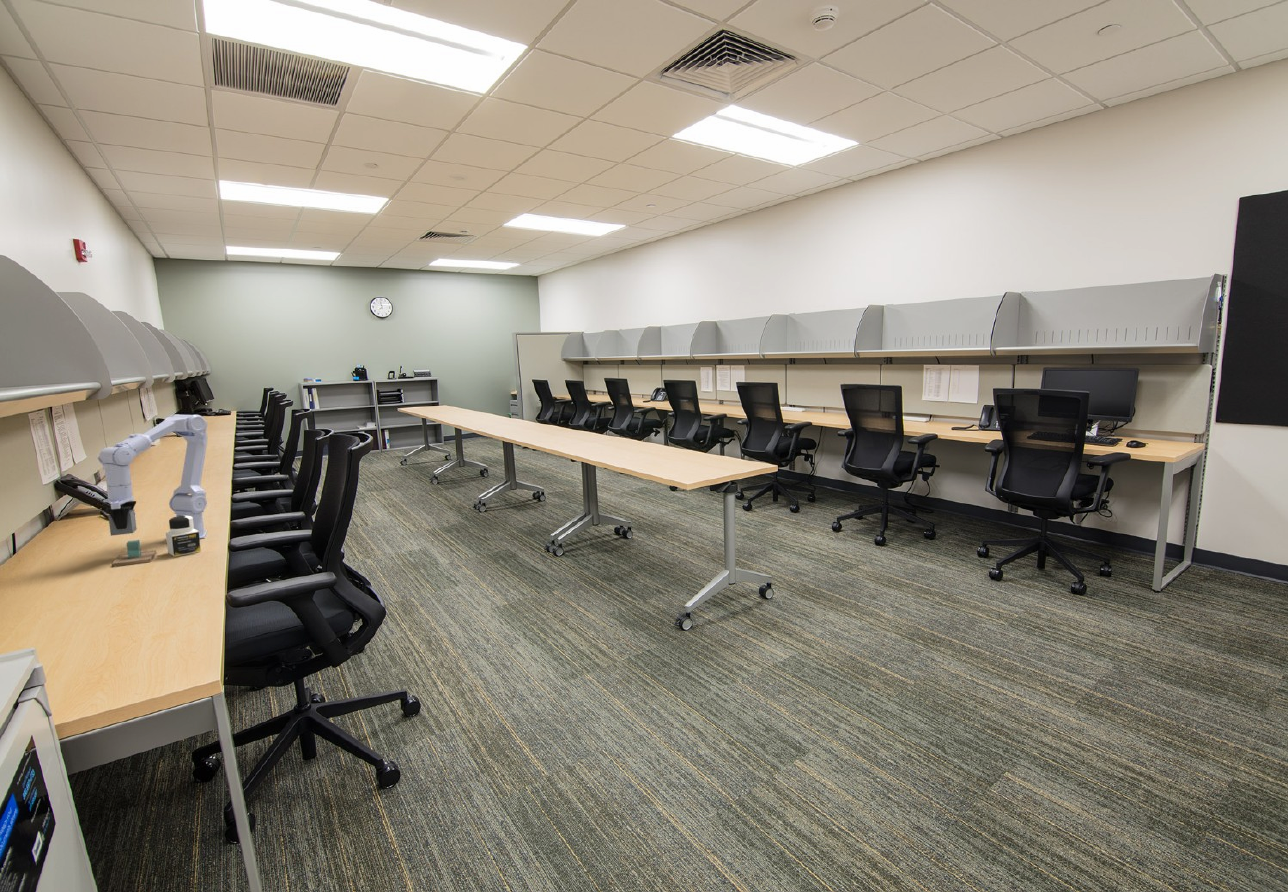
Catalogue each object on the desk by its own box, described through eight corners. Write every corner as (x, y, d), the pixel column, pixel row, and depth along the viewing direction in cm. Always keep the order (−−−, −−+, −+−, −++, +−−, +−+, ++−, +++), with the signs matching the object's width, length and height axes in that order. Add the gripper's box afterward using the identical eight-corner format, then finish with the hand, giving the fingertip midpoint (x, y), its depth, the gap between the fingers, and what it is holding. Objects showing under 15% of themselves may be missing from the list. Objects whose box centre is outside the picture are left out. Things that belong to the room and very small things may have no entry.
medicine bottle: (173, 557, 180) (170, 520, 179) (167, 552, 184) (163, 517, 183) (201, 551, 186) (197, 516, 184) (194, 547, 190) (190, 513, 189)
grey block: (115, 531, 180) (112, 511, 179) (136, 529, 183) (134, 509, 182) (110, 535, 176) (108, 515, 175) (132, 533, 178) (130, 512, 177)
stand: (119, 557, 179) (117, 539, 178) (156, 553, 184) (154, 535, 183) (112, 567, 171) (109, 548, 170) (150, 561, 176) (148, 543, 175)
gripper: (108, 482, 181) (112, 523, 183) (95, 490, 169) (100, 533, 171) (137, 480, 185) (141, 520, 187) (126, 487, 173) (131, 530, 174)
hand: (123, 526), depth 179 cm, fingers closed on grey block, 5 cm apart
